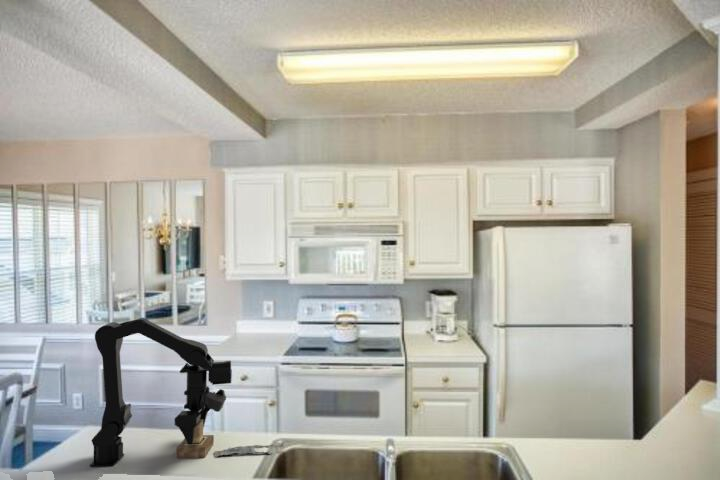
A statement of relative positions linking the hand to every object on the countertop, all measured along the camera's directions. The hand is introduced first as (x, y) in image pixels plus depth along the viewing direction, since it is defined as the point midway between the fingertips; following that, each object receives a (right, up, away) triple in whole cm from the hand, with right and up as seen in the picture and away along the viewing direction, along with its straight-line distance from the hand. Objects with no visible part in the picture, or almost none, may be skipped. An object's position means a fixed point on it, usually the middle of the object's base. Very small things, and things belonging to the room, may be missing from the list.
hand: (195, 437), depth 126 cm
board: (0, -4, 0) cm, 4 cm away
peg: (0, -4, 0) cm, 4 cm away
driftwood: (+16, -5, 0) cm, 17 cm away
